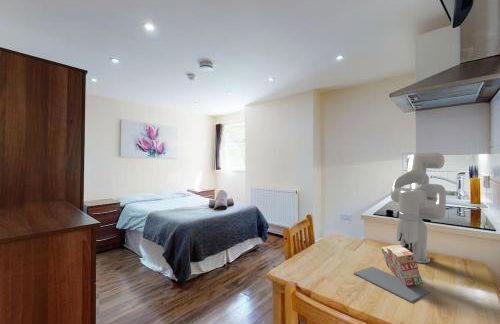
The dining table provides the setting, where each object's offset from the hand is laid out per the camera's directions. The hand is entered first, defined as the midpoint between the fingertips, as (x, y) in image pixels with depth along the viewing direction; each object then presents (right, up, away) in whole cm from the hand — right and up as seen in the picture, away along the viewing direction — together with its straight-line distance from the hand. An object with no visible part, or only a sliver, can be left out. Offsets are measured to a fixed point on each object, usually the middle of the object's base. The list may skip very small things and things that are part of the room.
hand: (407, 257), depth 104 cm
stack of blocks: (-3, -7, -1) cm, 8 cm away
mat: (-13, -8, -7) cm, 17 cm away
